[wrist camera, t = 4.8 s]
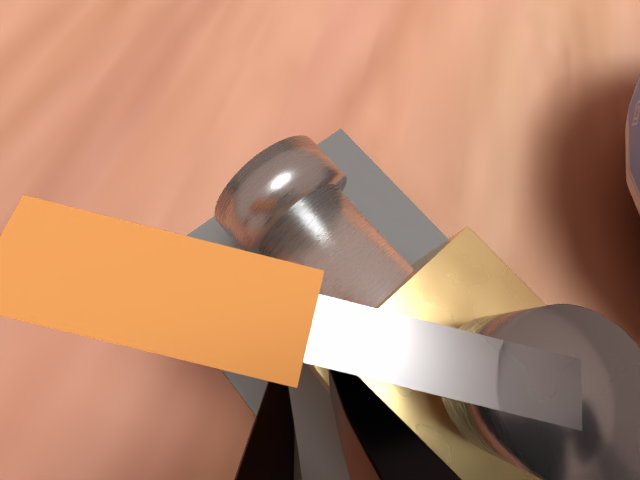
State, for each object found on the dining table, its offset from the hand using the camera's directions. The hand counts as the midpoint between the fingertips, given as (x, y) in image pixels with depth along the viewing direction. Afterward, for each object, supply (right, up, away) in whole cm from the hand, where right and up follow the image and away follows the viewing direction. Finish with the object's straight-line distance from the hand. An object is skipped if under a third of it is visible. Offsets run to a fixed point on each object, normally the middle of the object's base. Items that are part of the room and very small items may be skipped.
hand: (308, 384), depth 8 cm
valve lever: (0, +1, +1) cm, 1 cm away
